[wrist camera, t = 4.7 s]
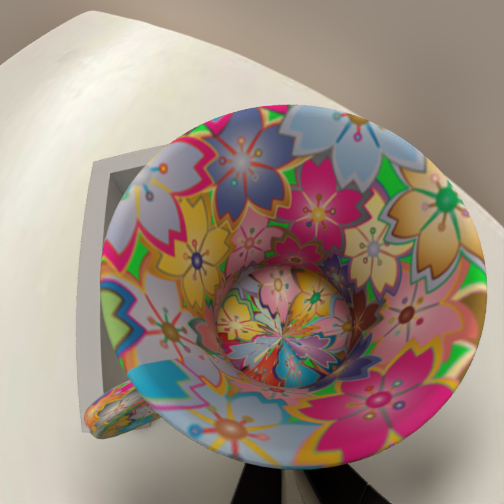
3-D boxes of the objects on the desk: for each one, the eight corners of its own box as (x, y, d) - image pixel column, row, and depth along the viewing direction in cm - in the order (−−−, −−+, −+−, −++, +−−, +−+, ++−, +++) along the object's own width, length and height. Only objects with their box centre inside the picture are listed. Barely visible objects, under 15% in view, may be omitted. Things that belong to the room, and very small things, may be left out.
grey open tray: (415, 378, 15) (464, 365, 10) (129, 427, 14) (82, 432, 10) (351, 176, 21) (368, 121, 16) (123, 210, 20) (93, 162, 16)
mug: (291, 227, 19) (309, 71, 10) (400, 344, 16) (533, 264, 6) (121, 350, 16) (-16, 276, 7) (224, 490, 13) (166, 599, 3)
